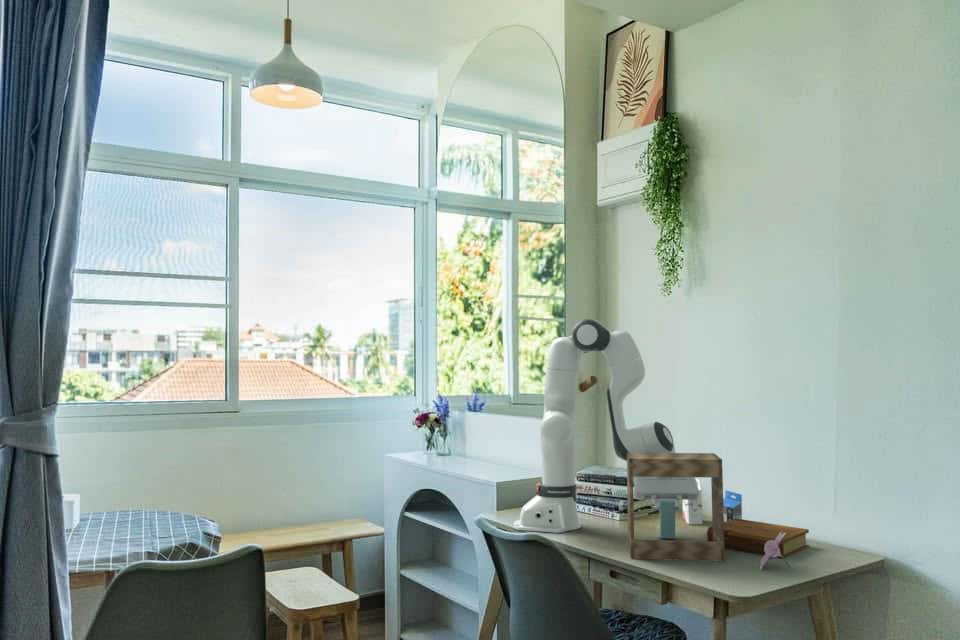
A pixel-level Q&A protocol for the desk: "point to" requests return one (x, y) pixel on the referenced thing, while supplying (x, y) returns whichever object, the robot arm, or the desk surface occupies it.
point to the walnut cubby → (678, 468)
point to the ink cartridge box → (693, 508)
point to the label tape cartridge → (732, 506)
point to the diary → (760, 537)
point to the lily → (772, 549)
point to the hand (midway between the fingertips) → (667, 509)
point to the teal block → (667, 519)
